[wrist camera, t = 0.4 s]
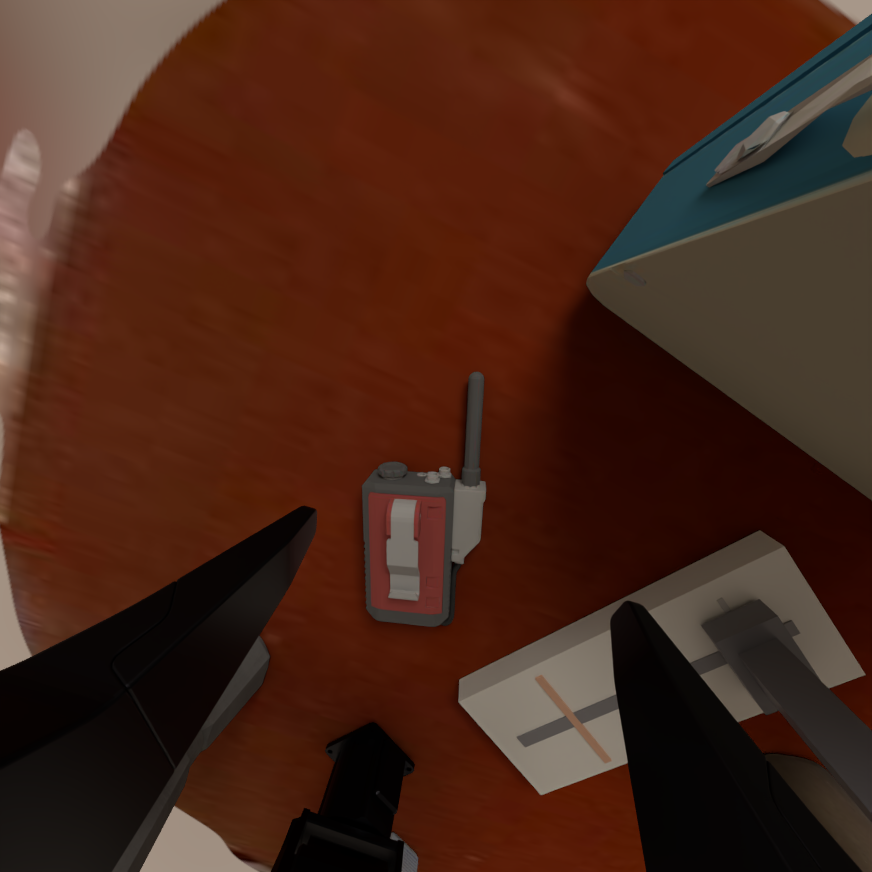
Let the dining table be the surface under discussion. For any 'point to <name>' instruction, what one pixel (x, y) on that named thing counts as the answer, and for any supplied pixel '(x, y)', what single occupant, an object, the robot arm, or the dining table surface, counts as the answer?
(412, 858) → the medicine box
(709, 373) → the radio
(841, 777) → the fader handle
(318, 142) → the dining table surface
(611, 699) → the fader console
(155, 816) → the coffeepot
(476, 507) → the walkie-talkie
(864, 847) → the pillar candle
